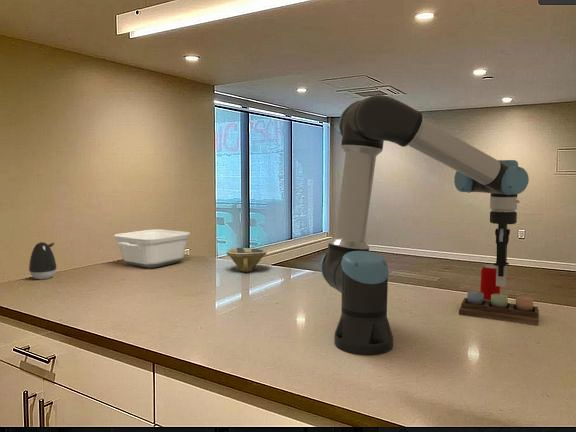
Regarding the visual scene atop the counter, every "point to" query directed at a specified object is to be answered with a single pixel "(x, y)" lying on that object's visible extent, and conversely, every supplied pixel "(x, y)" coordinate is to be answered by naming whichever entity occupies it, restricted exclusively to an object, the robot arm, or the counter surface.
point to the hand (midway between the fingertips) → (500, 285)
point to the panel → (499, 312)
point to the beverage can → (489, 282)
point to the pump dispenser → (42, 261)
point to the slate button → (475, 297)
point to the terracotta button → (524, 303)
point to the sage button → (499, 300)
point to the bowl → (246, 258)
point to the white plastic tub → (152, 247)
